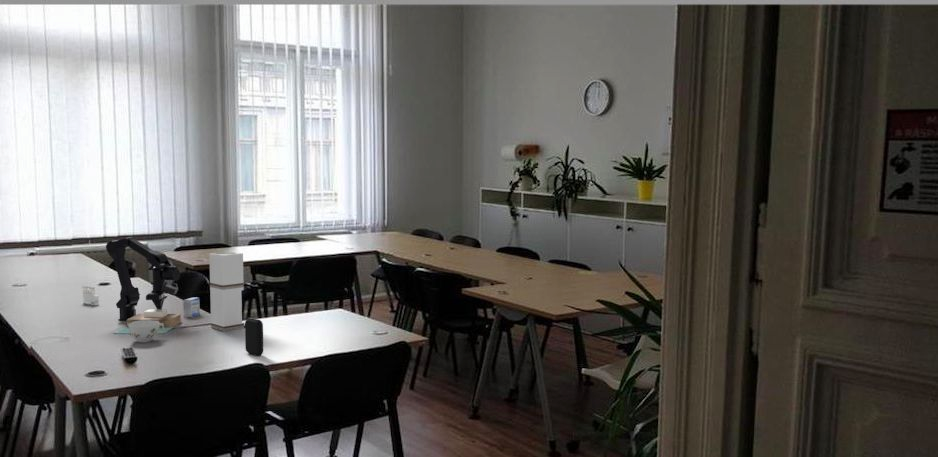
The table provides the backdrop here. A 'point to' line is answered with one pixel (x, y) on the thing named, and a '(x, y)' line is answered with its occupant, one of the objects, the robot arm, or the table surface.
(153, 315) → the white rectangular block
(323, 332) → the table surface
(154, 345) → the table surface
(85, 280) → the table surface
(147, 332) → the teacup
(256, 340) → the carrying case or bag
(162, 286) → the robot arm
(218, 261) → the white square table lamp
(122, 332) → the mat
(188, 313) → the medicine box
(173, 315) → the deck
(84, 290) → the ink cartridge box
